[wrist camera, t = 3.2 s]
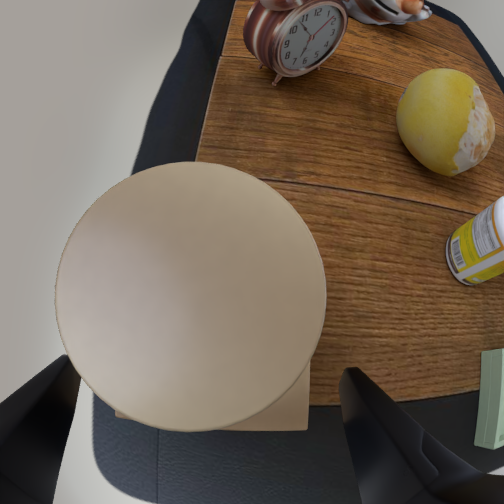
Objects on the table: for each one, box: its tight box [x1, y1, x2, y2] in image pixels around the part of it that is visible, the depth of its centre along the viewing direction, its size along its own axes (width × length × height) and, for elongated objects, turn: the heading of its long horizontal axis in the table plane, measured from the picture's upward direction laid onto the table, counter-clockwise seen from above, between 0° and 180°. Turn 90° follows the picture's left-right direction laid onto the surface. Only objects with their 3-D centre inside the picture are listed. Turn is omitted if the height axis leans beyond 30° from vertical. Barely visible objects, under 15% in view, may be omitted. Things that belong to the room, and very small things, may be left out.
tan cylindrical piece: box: [55, 162, 327, 432], centre depth 9 cm, size 6×6×10 cm
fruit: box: [396, 69, 495, 176], centre depth 24 cm, size 10×11×10 cm
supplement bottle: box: [446, 196, 504, 285], centre depth 20 cm, size 6×6×10 cm
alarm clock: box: [243, 0, 350, 86], centre depth 24 cm, size 11×5×15 cm, turn 127°
